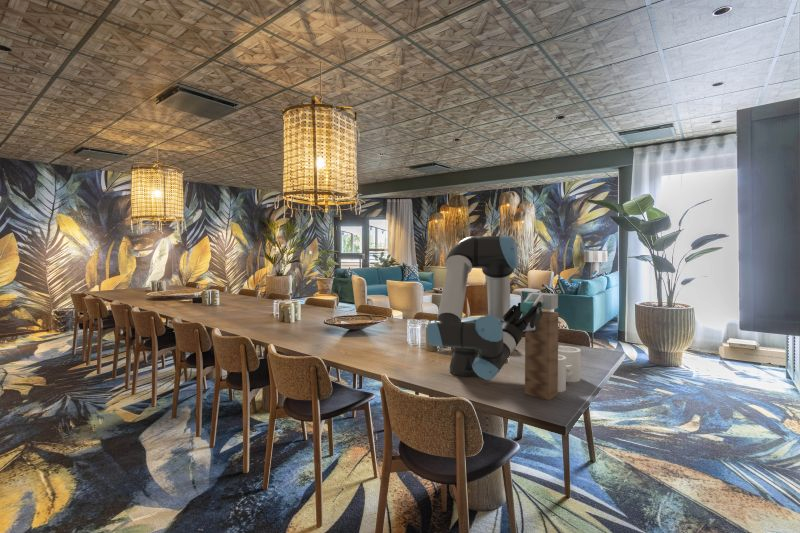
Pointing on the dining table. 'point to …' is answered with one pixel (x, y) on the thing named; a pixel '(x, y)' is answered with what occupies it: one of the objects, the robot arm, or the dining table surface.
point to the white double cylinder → (568, 366)
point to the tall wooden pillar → (542, 357)
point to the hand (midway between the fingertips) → (536, 297)
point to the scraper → (548, 303)
